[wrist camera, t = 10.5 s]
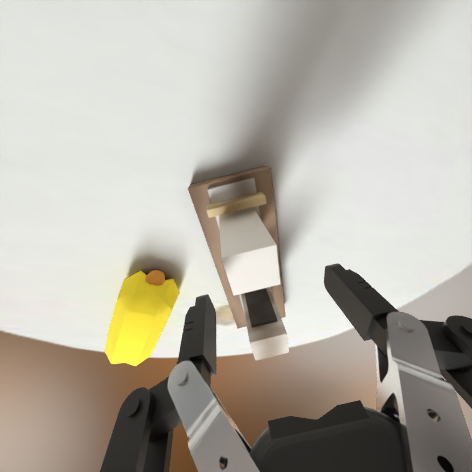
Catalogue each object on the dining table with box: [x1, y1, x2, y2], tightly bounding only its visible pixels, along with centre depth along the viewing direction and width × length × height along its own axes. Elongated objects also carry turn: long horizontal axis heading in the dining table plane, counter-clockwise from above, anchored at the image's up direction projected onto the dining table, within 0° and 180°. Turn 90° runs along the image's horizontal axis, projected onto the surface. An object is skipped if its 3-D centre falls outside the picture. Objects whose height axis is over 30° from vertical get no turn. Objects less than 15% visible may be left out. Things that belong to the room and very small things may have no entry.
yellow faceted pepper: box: [105, 270, 180, 366], centre depth 25 cm, size 18×7×8 cm
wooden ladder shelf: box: [188, 166, 289, 360], centre depth 21 cm, size 9×26×11 cm, turn 12°
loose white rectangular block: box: [219, 207, 281, 296], centre depth 16 cm, size 4×4×8 cm
